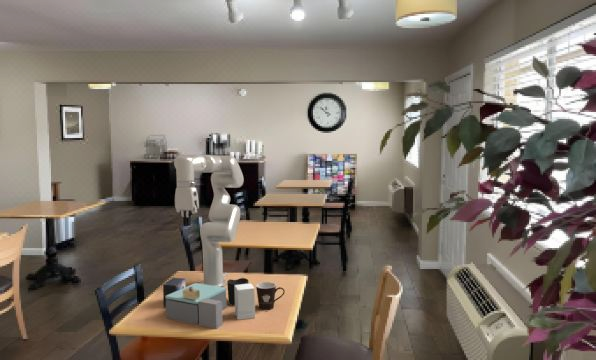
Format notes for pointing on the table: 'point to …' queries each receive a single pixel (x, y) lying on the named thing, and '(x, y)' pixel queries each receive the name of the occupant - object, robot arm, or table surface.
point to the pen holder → (231, 288)
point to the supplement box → (244, 301)
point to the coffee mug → (267, 295)
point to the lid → (204, 290)
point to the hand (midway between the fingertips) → (187, 225)
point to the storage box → (198, 311)
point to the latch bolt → (191, 293)
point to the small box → (172, 287)
